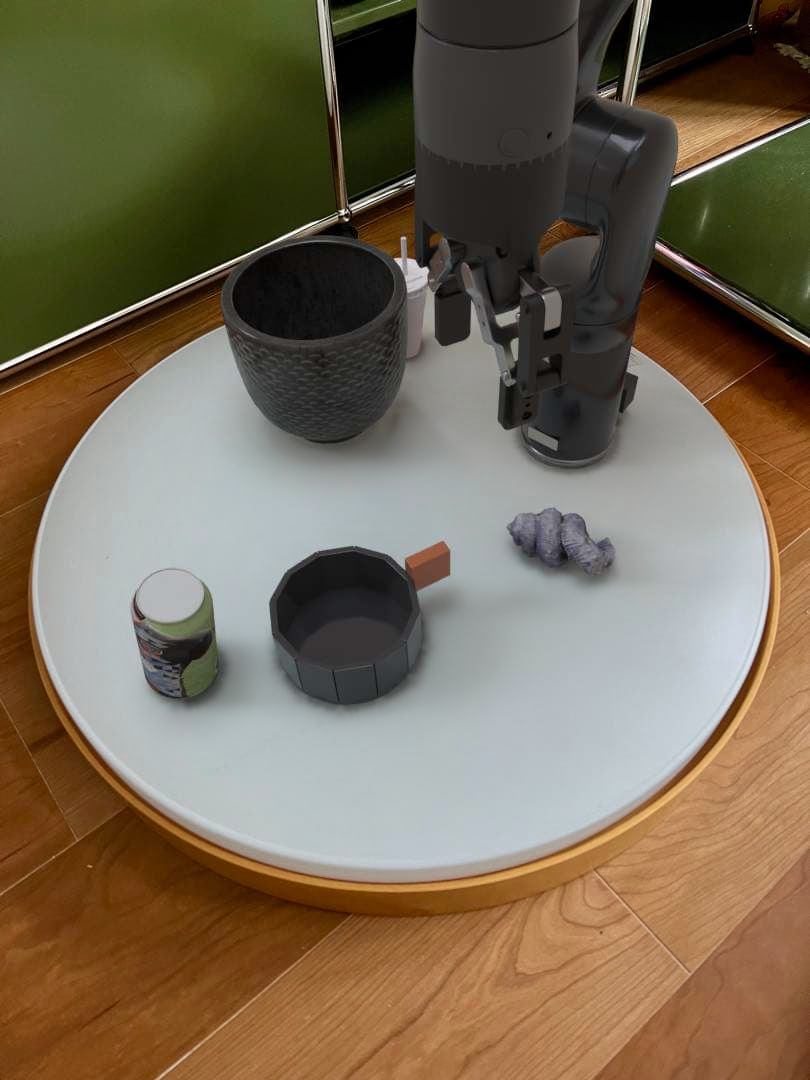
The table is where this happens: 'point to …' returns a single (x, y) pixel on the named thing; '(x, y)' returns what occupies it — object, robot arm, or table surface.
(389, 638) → the dark grey saucepan
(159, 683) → the beverage can
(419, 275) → the smoothie
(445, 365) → the table surface
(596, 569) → the seashell
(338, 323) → the planter
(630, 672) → the table surface
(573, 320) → the robot arm
